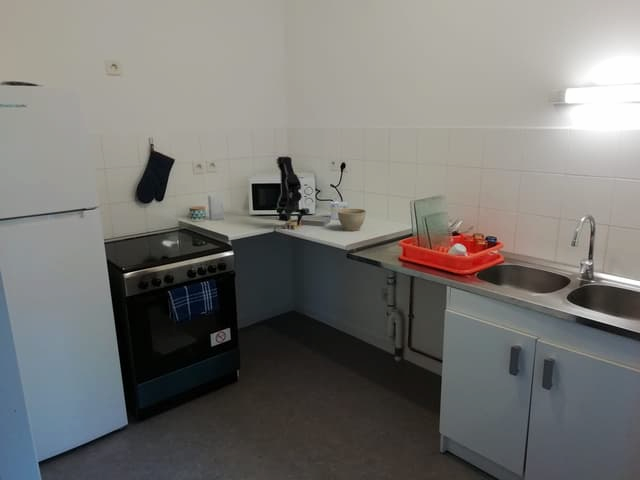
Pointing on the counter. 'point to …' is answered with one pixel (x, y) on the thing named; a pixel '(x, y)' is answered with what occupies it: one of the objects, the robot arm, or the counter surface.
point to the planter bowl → (351, 218)
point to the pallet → (292, 224)
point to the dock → (315, 221)
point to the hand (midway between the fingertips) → (293, 225)
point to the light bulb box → (337, 208)
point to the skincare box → (215, 207)
